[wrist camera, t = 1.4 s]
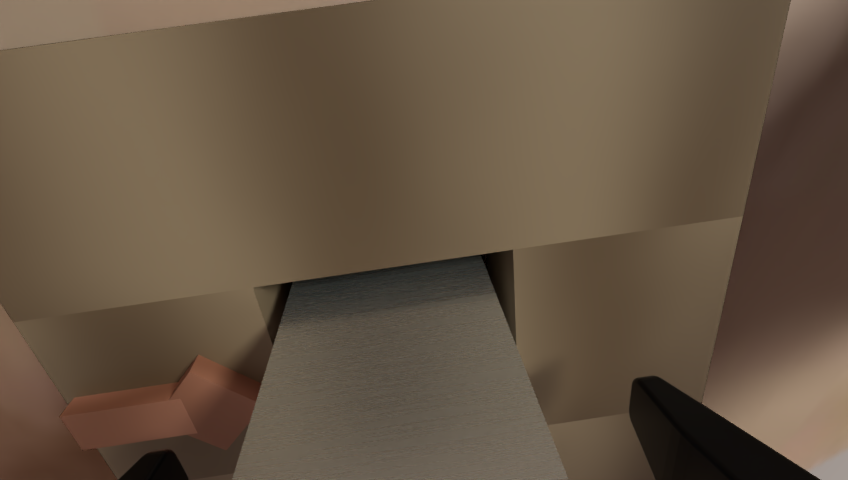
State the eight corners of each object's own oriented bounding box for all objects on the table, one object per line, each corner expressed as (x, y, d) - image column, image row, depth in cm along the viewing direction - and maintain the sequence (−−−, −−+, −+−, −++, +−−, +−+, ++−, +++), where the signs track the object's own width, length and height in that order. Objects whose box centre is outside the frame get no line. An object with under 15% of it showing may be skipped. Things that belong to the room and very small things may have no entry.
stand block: (686, -42, 10) (832, -61, 6) (627, 428, 16) (687, 531, 13) (-2, 50, 9) (-191, 77, 6) (222, 490, 16) (184, 611, 13)
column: (465, 212, 12) (591, 533, 5) (475, 337, 14) (577, 700, 7) (306, 235, 12) (193, 595, 5) (338, 357, 14) (293, 747, 7)
